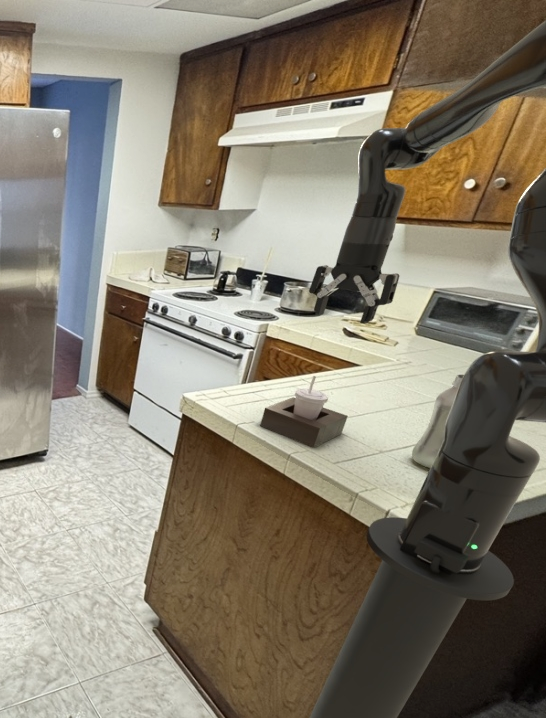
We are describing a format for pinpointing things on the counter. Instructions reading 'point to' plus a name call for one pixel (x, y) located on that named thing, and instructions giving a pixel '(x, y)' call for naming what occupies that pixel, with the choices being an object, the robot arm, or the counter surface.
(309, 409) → the smoothie
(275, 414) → the holder
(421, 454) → the plastic bottle
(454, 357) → the counter surface
